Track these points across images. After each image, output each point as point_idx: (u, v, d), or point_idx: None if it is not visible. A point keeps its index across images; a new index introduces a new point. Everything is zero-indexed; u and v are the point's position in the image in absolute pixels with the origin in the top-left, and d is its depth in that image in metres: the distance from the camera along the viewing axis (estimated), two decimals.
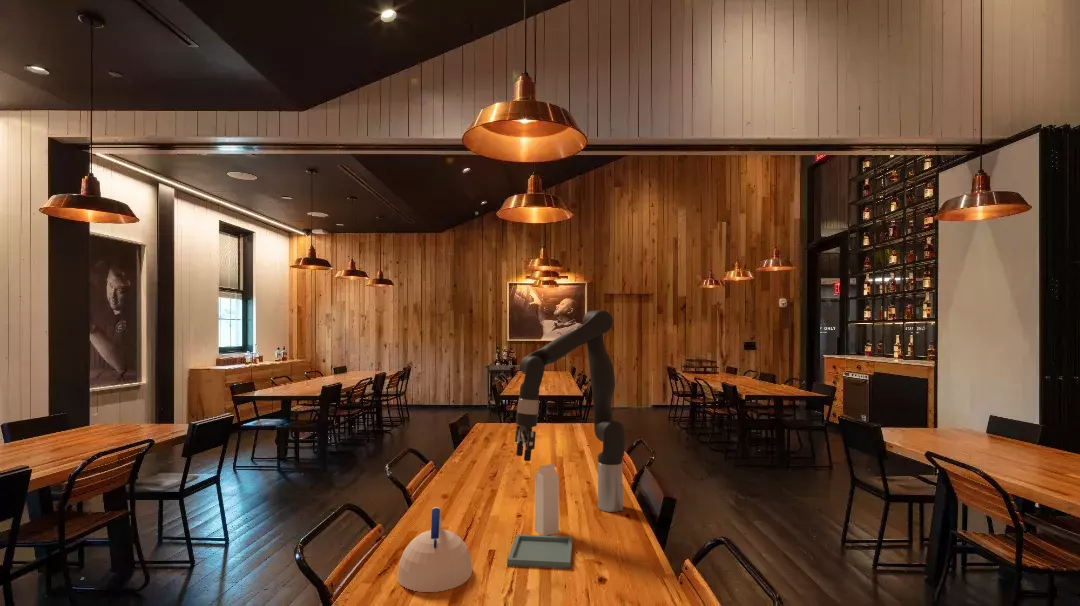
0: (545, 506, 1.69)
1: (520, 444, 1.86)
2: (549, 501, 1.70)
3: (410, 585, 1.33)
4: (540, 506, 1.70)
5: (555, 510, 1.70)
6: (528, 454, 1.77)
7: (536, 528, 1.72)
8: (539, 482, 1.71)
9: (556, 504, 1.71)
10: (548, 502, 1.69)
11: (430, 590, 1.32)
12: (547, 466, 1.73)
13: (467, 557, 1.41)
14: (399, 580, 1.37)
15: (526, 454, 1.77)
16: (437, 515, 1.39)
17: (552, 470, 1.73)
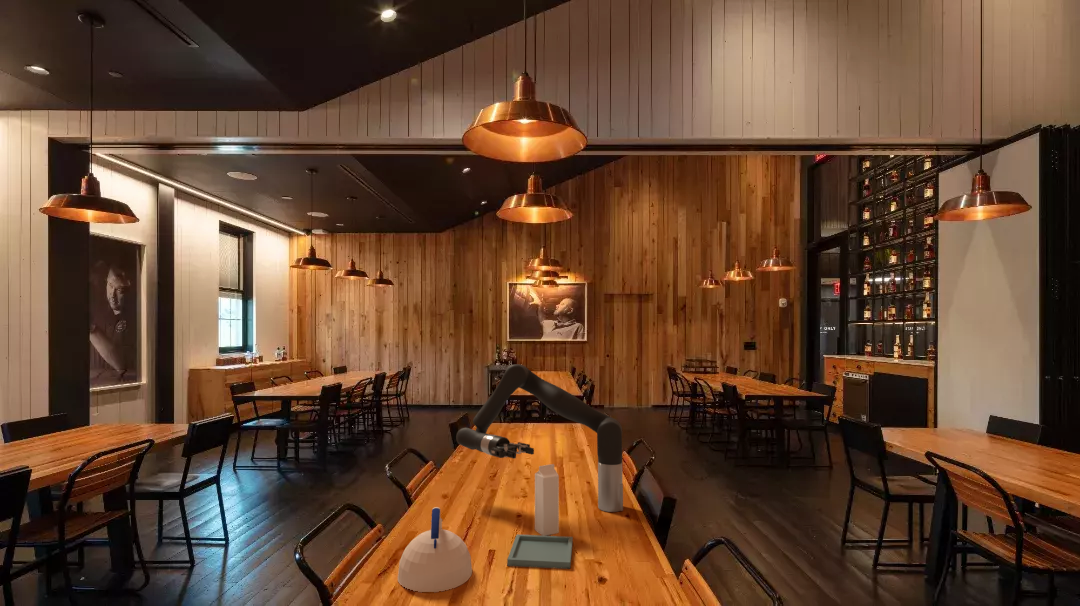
0: (545, 506, 1.69)
1: (525, 449, 1.87)
2: (549, 501, 1.70)
3: (410, 585, 1.33)
4: (540, 506, 1.70)
5: (555, 510, 1.70)
6: (508, 455, 1.79)
7: (536, 528, 1.72)
8: (539, 482, 1.71)
9: (556, 504, 1.71)
10: (547, 502, 1.69)
11: (430, 590, 1.32)
12: (547, 466, 1.73)
13: (467, 557, 1.41)
14: (399, 580, 1.37)
15: (509, 456, 1.79)
16: (437, 515, 1.39)
17: (552, 470, 1.73)
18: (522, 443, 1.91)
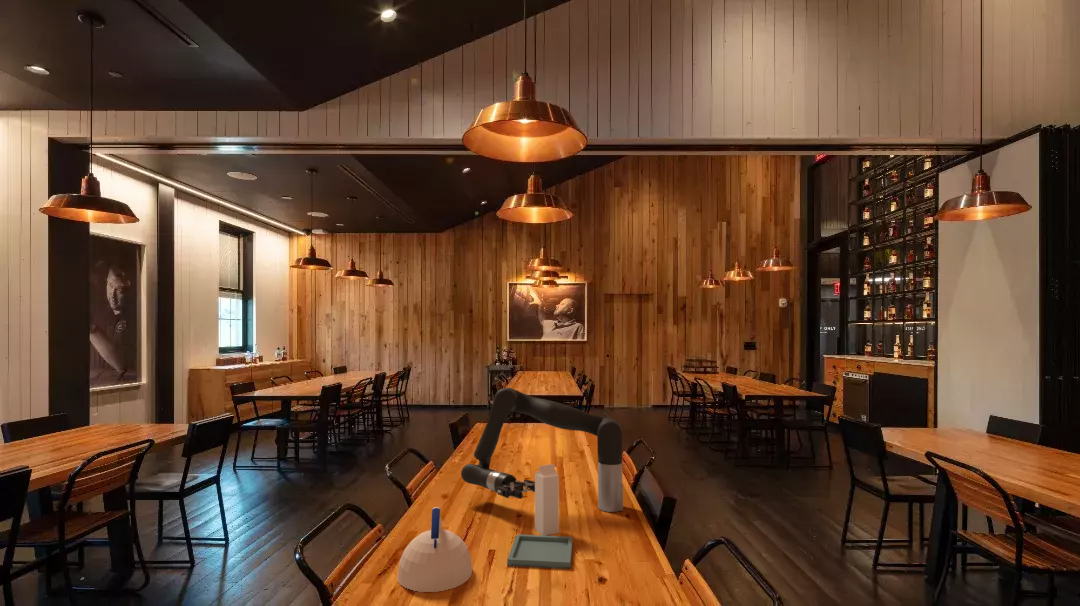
0: (545, 506, 1.69)
1: (532, 487, 1.84)
2: (549, 501, 1.70)
3: (410, 585, 1.33)
4: (540, 506, 1.70)
5: (555, 510, 1.70)
6: (515, 495, 1.76)
7: (536, 528, 1.72)
8: (539, 482, 1.71)
9: (556, 504, 1.71)
10: (547, 502, 1.69)
11: (430, 590, 1.32)
12: (547, 466, 1.73)
13: (467, 557, 1.41)
14: (399, 580, 1.37)
15: (516, 496, 1.76)
16: (437, 514, 1.39)
17: (552, 470, 1.73)
18: (528, 480, 1.88)
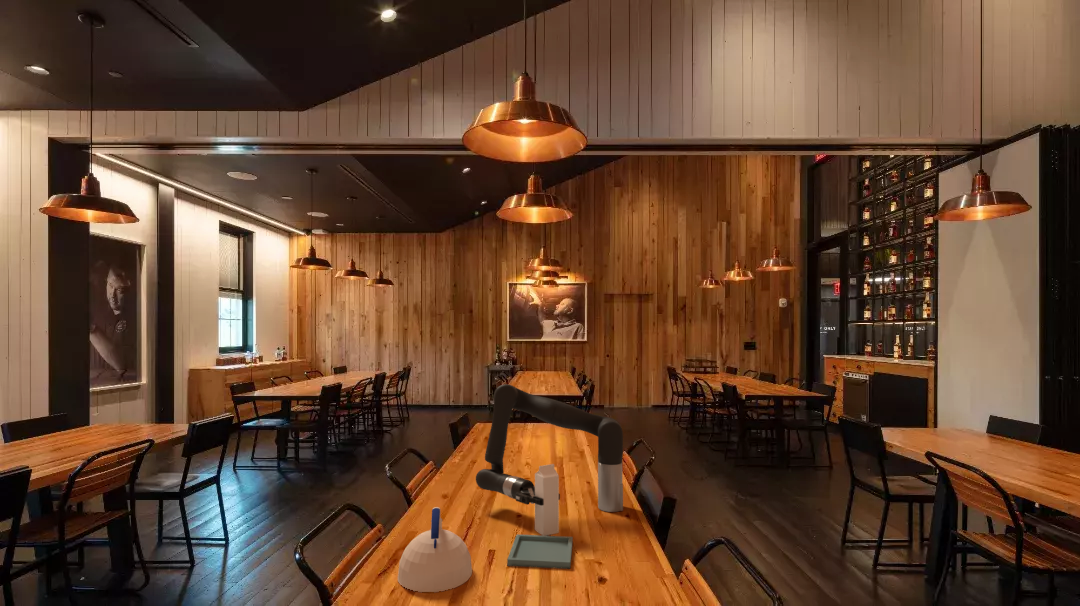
0: (545, 506, 1.69)
1: None
2: (549, 501, 1.70)
3: (410, 585, 1.33)
4: (540, 506, 1.70)
5: (555, 510, 1.70)
6: (535, 501, 1.69)
7: (536, 528, 1.72)
8: (539, 482, 1.71)
9: (556, 504, 1.71)
10: (548, 502, 1.69)
11: (430, 590, 1.32)
12: (547, 466, 1.73)
13: (467, 557, 1.41)
14: (399, 580, 1.37)
15: None
16: (437, 515, 1.39)
17: (552, 470, 1.73)
18: None
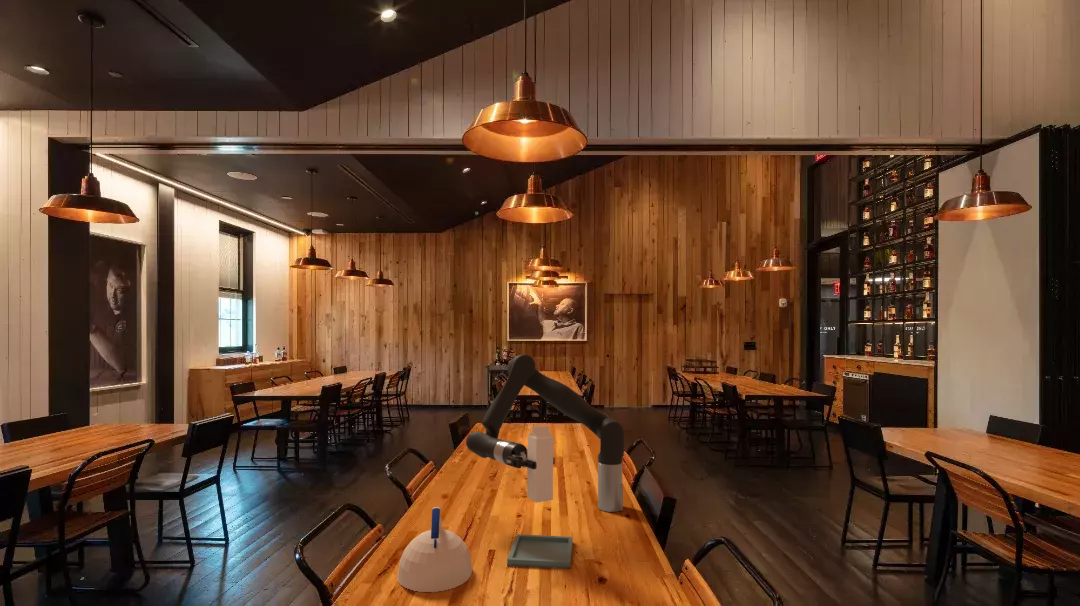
0: (538, 470, 1.54)
1: None
2: (543, 464, 1.55)
3: (410, 585, 1.33)
4: (532, 471, 1.56)
5: (548, 474, 1.56)
6: (527, 465, 1.55)
7: (528, 494, 1.58)
8: (532, 444, 1.57)
9: (550, 469, 1.56)
10: (541, 466, 1.55)
11: (430, 590, 1.32)
12: (541, 427, 1.59)
13: (467, 557, 1.41)
14: (399, 580, 1.37)
15: (528, 467, 1.55)
16: (437, 514, 1.39)
17: (546, 432, 1.59)
18: None
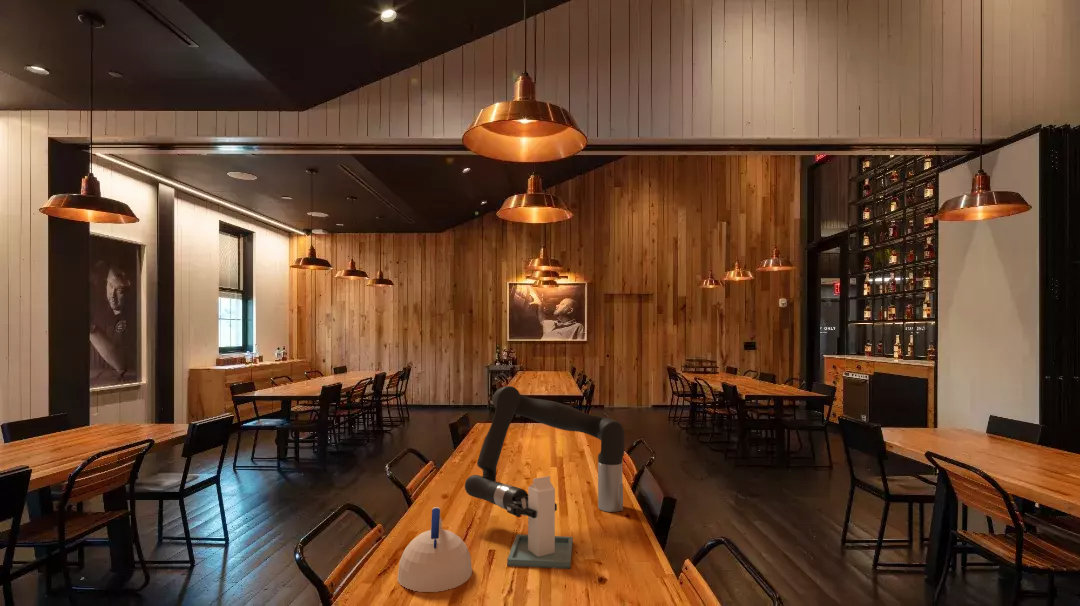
0: (540, 523, 1.52)
1: None
2: (544, 517, 1.53)
3: (410, 585, 1.33)
4: (534, 524, 1.53)
5: (550, 527, 1.54)
6: (527, 513, 1.52)
7: (529, 547, 1.55)
8: (533, 497, 1.54)
9: (551, 521, 1.54)
10: (543, 519, 1.53)
11: (430, 590, 1.32)
12: (542, 479, 1.57)
13: (467, 557, 1.41)
14: (399, 580, 1.37)
15: (528, 515, 1.53)
16: (437, 515, 1.39)
17: (547, 483, 1.57)
18: None
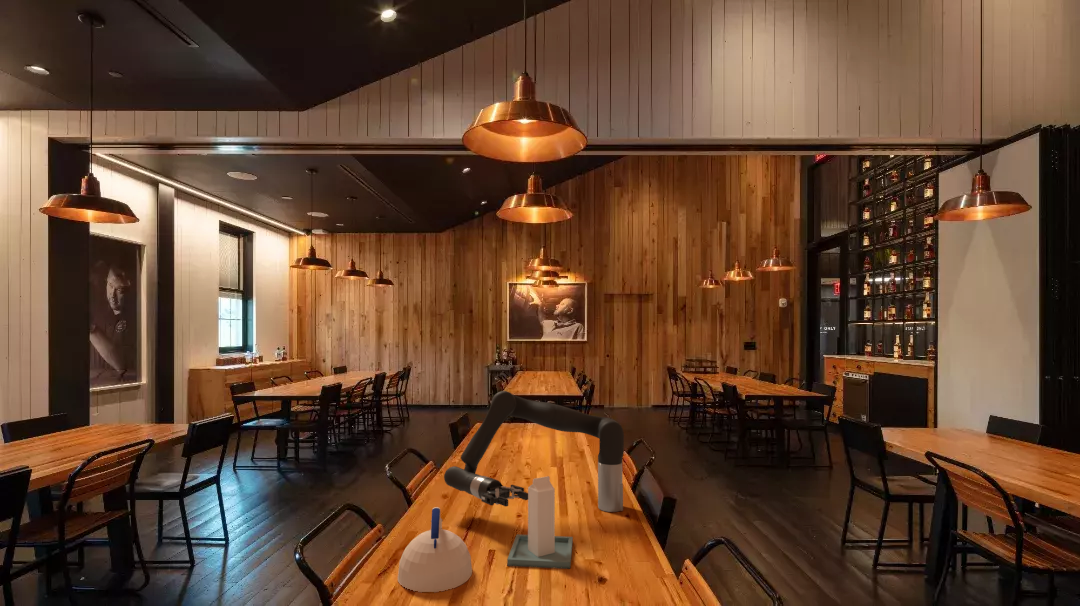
0: (540, 524, 1.52)
1: (519, 494, 1.70)
2: (544, 517, 1.53)
3: (410, 585, 1.33)
4: (534, 524, 1.53)
5: (550, 527, 1.54)
6: (500, 502, 1.62)
7: (529, 548, 1.55)
8: (533, 497, 1.54)
9: (551, 521, 1.54)
10: (542, 519, 1.53)
11: (430, 590, 1.32)
12: (542, 479, 1.57)
13: (467, 557, 1.41)
14: (399, 580, 1.37)
15: (501, 504, 1.62)
16: (437, 515, 1.39)
17: (547, 483, 1.57)
18: (515, 486, 1.74)
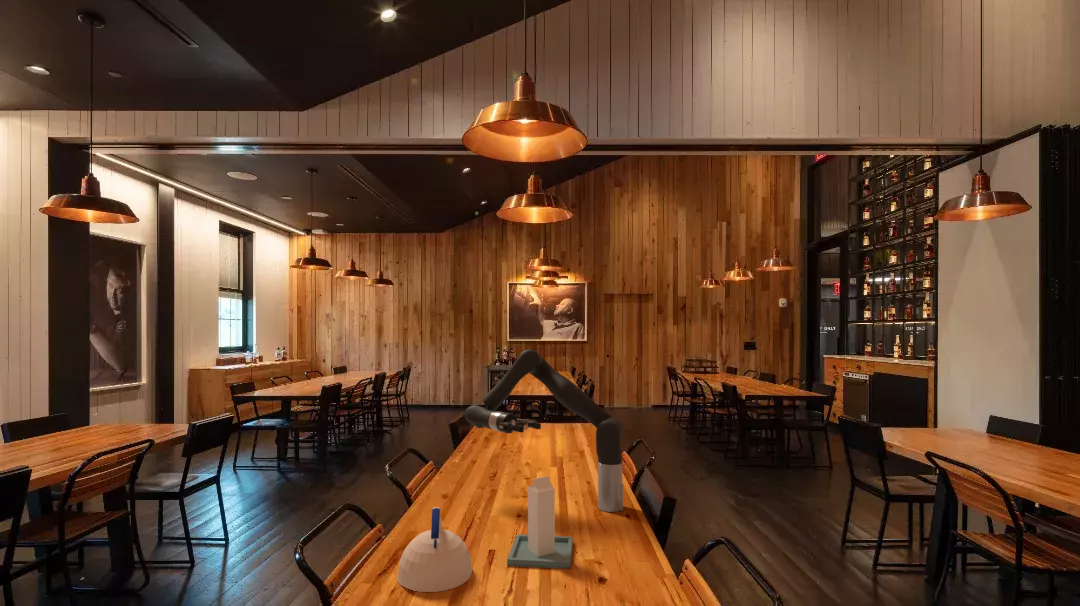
0: (540, 524, 1.52)
1: (532, 424, 1.92)
2: (544, 517, 1.53)
3: (410, 585, 1.33)
4: (534, 524, 1.53)
5: (550, 527, 1.54)
6: (516, 429, 1.84)
7: (529, 548, 1.55)
8: (533, 497, 1.54)
9: (551, 521, 1.54)
10: (542, 519, 1.53)
11: (430, 590, 1.32)
12: (542, 479, 1.57)
13: (467, 557, 1.41)
14: (399, 580, 1.37)
15: (517, 430, 1.84)
16: (437, 515, 1.39)
17: (547, 483, 1.57)
18: (529, 419, 1.96)
